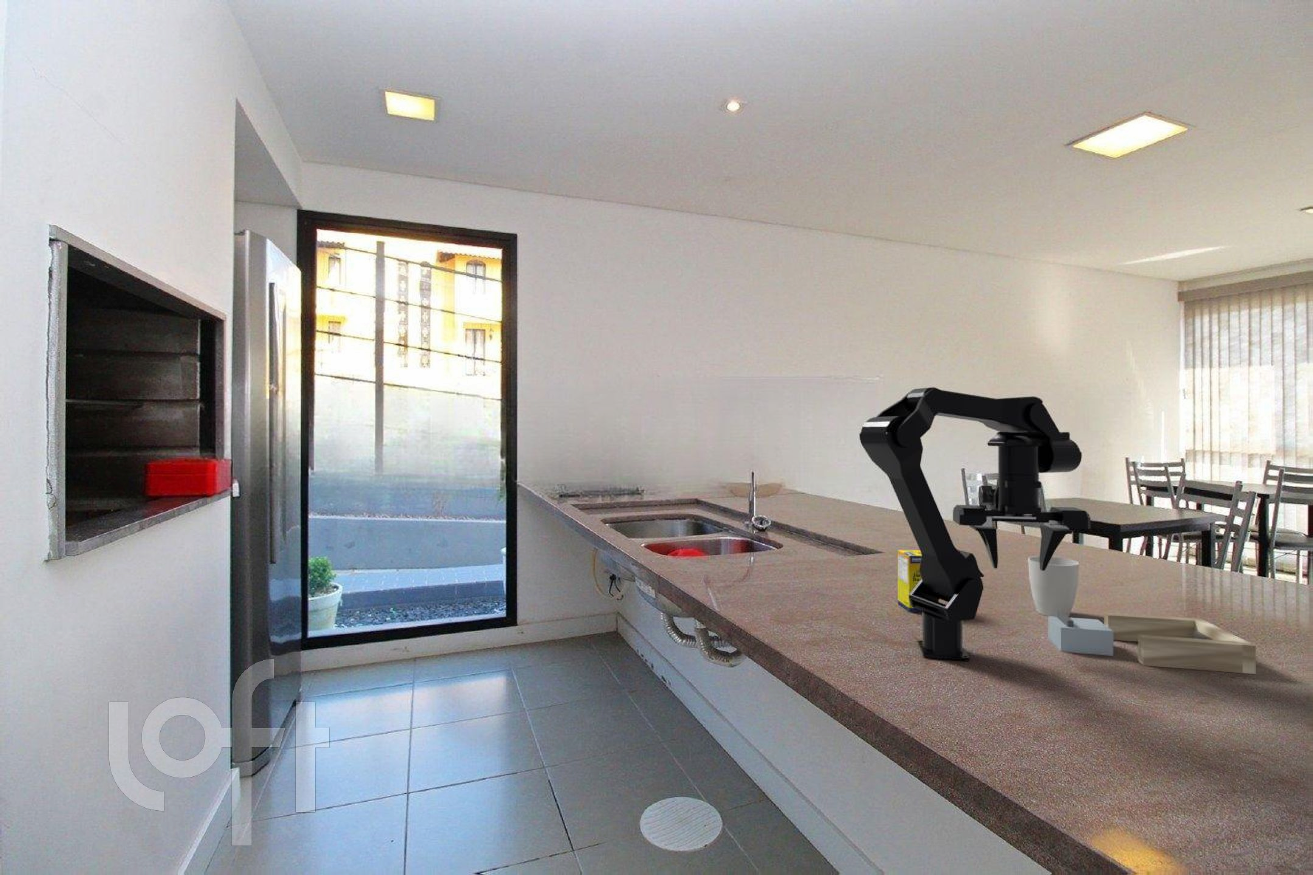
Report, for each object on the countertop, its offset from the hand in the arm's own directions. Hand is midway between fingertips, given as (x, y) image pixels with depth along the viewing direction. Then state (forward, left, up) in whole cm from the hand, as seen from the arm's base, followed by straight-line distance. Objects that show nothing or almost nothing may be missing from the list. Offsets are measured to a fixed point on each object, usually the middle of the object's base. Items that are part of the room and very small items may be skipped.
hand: (1018, 569), depth 100 cm
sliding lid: (0, -9, -12) cm, 15 cm away
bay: (0, -21, -12) cm, 24 cm away
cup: (+19, -11, -12) cm, 25 cm away
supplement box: (+17, +13, -12) cm, 25 cm away
